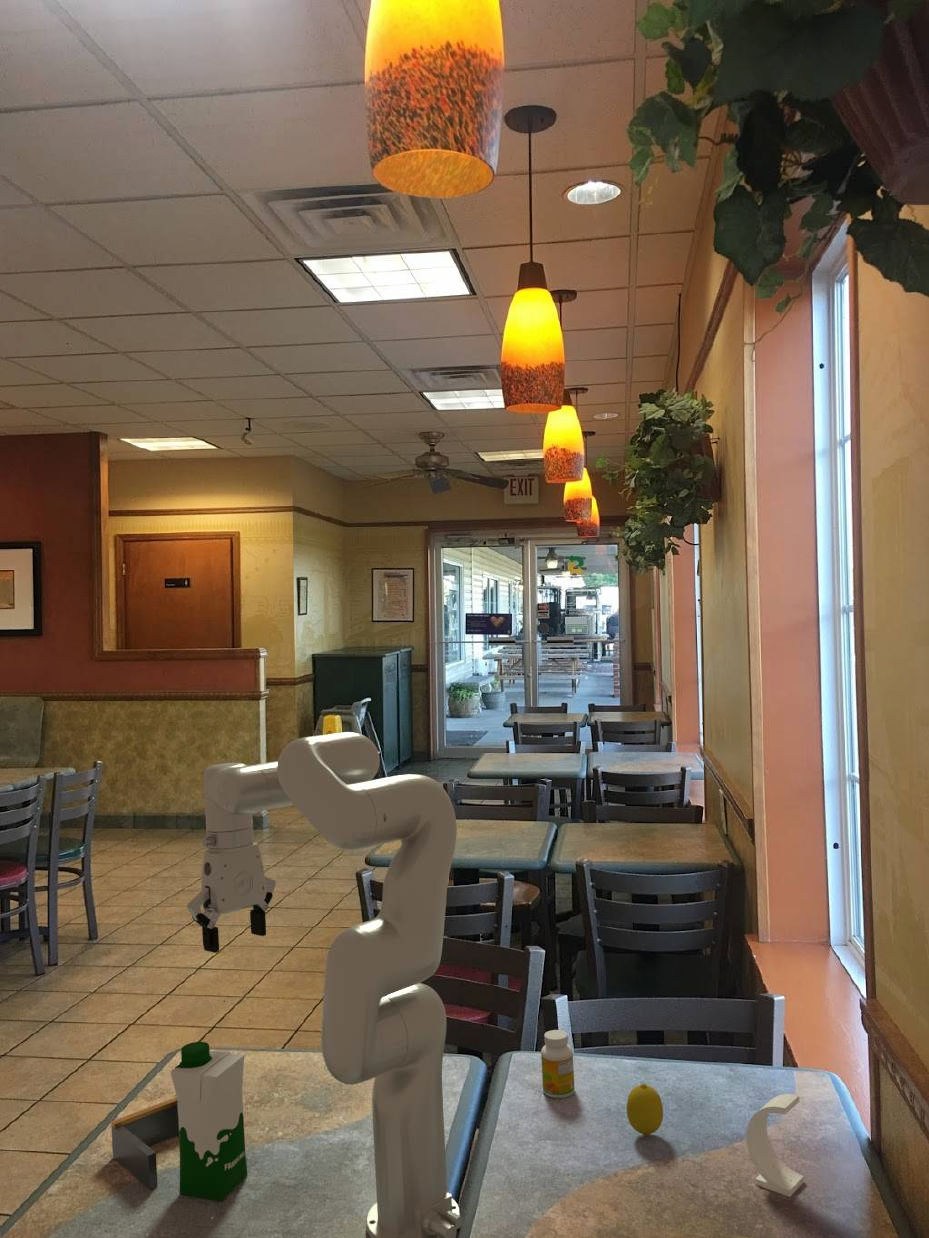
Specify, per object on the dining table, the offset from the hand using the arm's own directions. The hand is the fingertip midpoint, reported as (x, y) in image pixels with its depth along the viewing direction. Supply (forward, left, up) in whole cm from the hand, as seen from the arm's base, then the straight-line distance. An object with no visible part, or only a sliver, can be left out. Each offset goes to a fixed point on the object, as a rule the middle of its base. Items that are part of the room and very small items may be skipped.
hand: (235, 942), depth 163 cm
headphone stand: (-72, -43, -30) cm, 89 cm away
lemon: (-51, -41, -30) cm, 72 cm away
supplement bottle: (-31, -43, -30) cm, 61 cm away
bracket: (-1, +12, -30) cm, 32 cm away
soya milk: (-13, +12, -30) cm, 35 cm away
